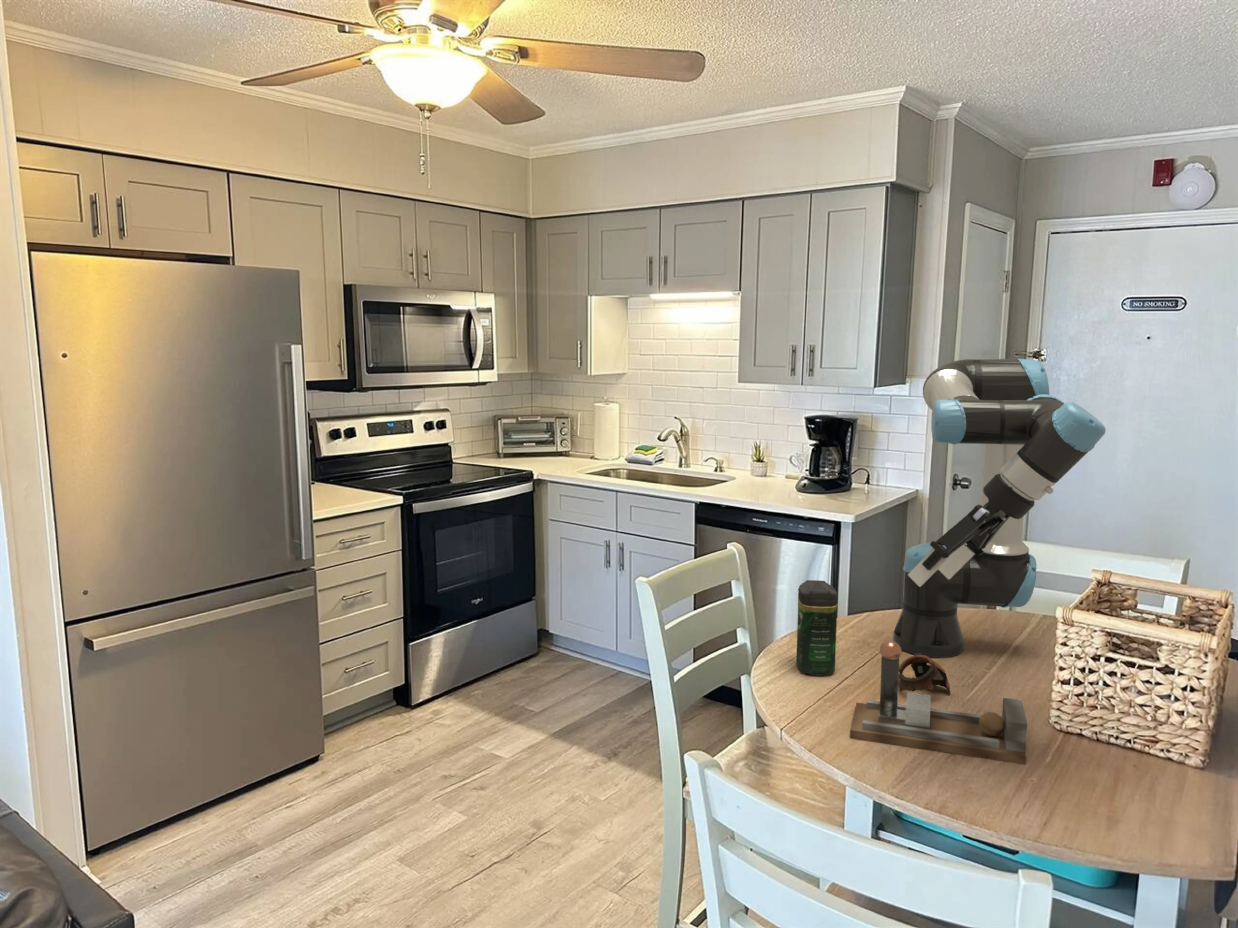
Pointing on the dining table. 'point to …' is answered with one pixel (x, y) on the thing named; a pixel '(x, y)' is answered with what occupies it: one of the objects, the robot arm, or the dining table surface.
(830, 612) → the coffee jar
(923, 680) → the brown curved piece
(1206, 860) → the dining table surface
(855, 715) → the press base
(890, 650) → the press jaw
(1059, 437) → the robot arm
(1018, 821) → the dining table surface
